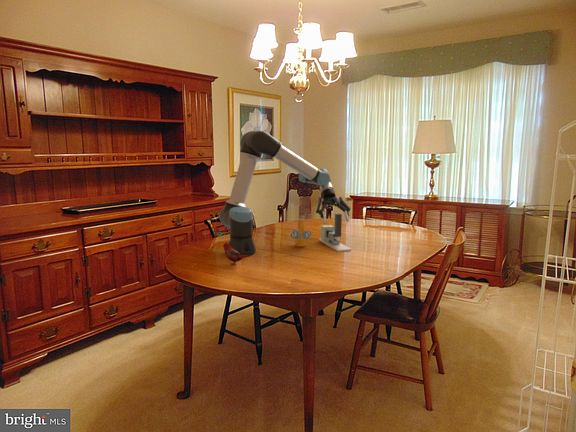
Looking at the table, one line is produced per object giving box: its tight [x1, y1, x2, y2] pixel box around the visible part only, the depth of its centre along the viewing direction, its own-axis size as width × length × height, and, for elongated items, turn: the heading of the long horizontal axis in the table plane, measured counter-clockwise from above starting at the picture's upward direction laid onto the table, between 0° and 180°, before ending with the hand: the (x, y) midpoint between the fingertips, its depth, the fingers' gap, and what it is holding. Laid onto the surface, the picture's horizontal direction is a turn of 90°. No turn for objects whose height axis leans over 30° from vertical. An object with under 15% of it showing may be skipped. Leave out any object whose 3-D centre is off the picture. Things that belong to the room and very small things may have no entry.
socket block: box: [320, 224, 335, 241], centre depth 245 cm, size 5×6×8 cm
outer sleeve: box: [328, 231, 341, 245], centre depth 236 cm, size 7×4×6 cm, turn 17°
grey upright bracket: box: [326, 213, 343, 241], centre depth 237 cm, size 17×3×15 cm, turn 17°
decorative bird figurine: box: [222, 242, 250, 266], centre depth 196 cm, size 3×18×10 cm, turn 51°
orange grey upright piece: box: [290, 218, 312, 248], centre depth 234 cm, size 12×10×15 cm
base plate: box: [318, 238, 352, 253], centre depth 236 cm, size 28×8×1 cm, turn 17°
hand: (336, 222), depth 233 cm, fingers open, 13 cm apart
